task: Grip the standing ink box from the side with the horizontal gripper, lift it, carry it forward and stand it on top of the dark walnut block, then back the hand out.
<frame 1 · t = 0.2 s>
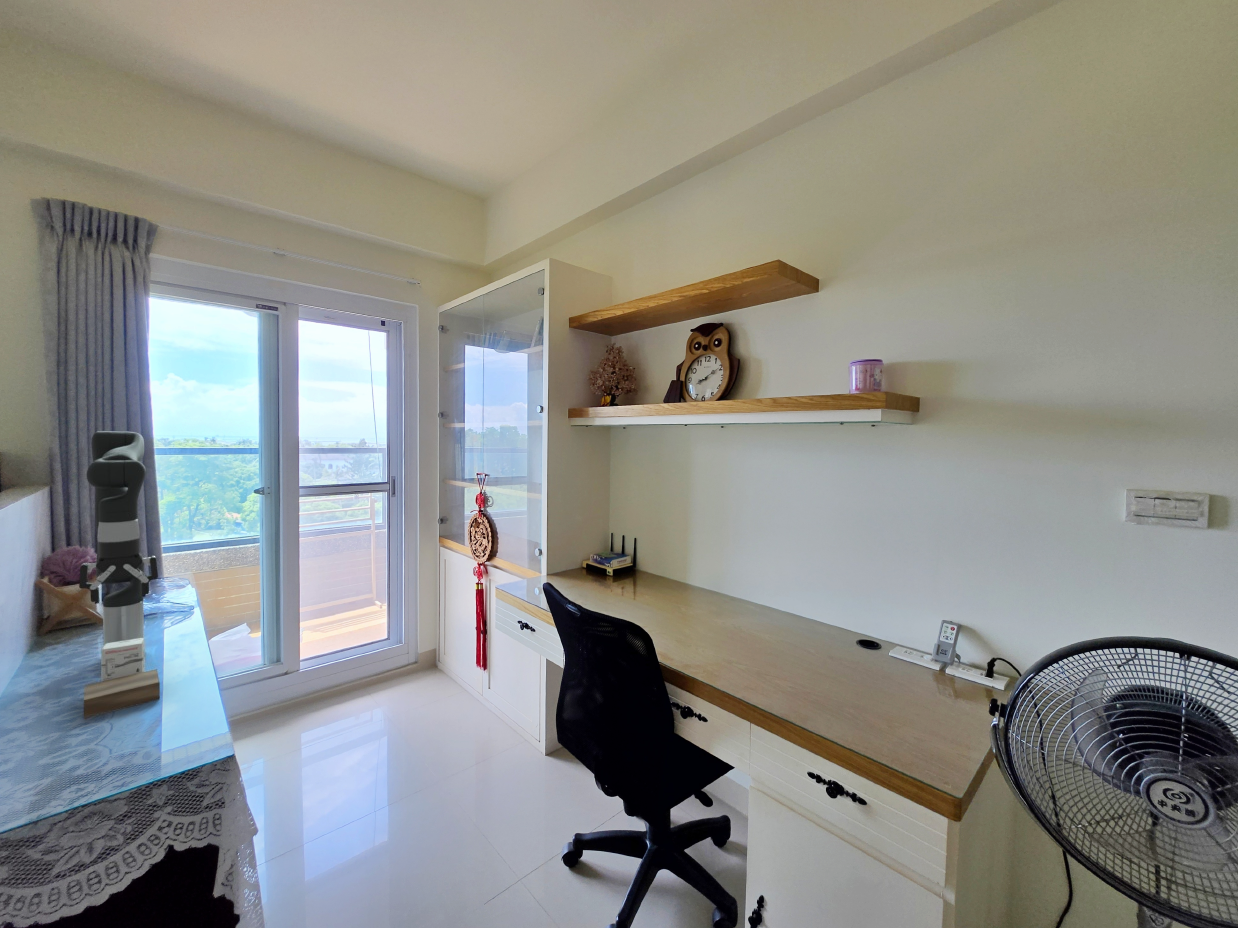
hand: (120, 599, 128), 29 cm above the table, tool pointing down, fingers open, 8 cm apart
walnut block: (122, 701, 133), on the table
ink box: (123, 684, 142), on the table
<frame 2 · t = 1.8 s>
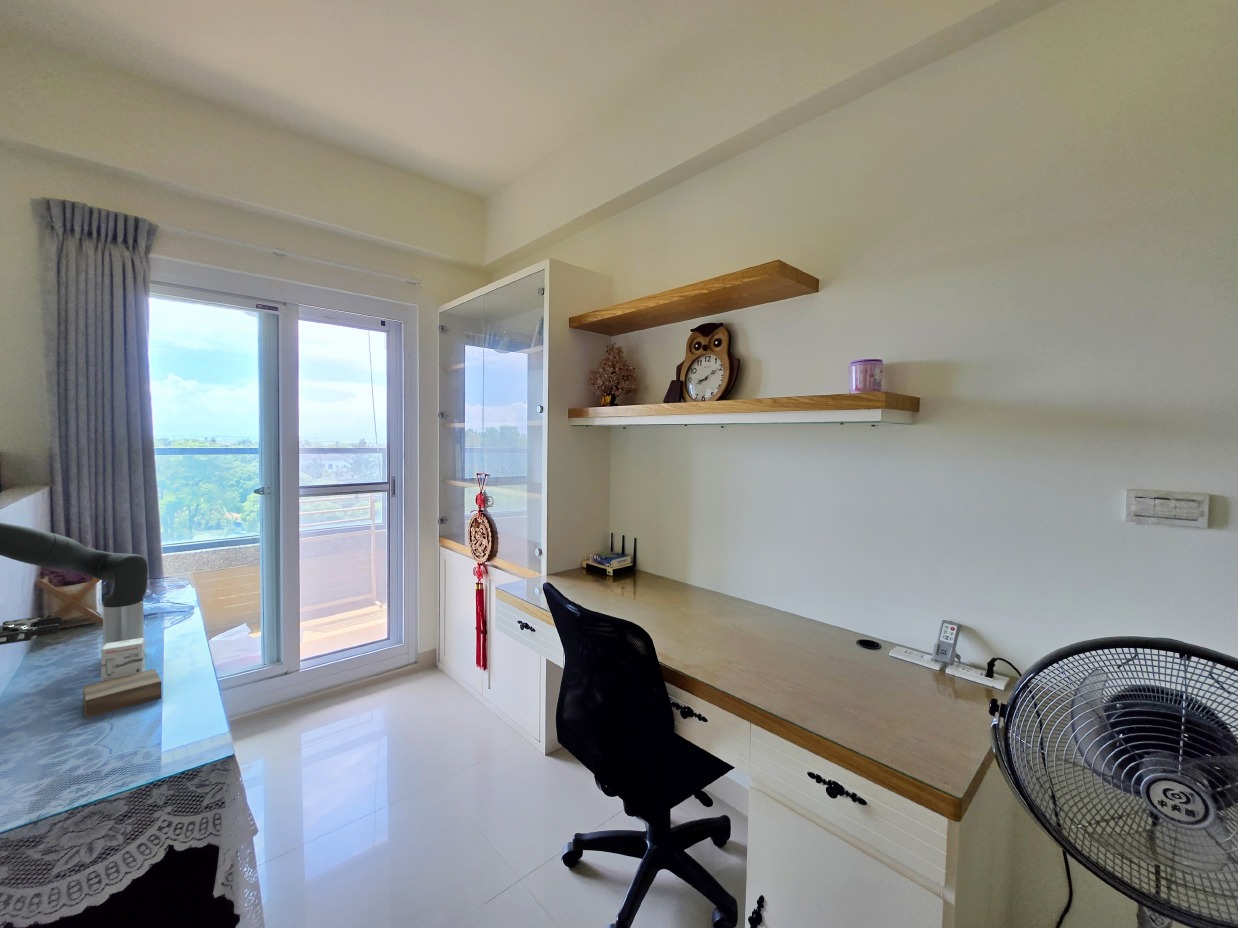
hand: (60, 623, 133), 20 cm above the table, tool horizontal, fingers open, 8 cm apart
nothing on the table moved.
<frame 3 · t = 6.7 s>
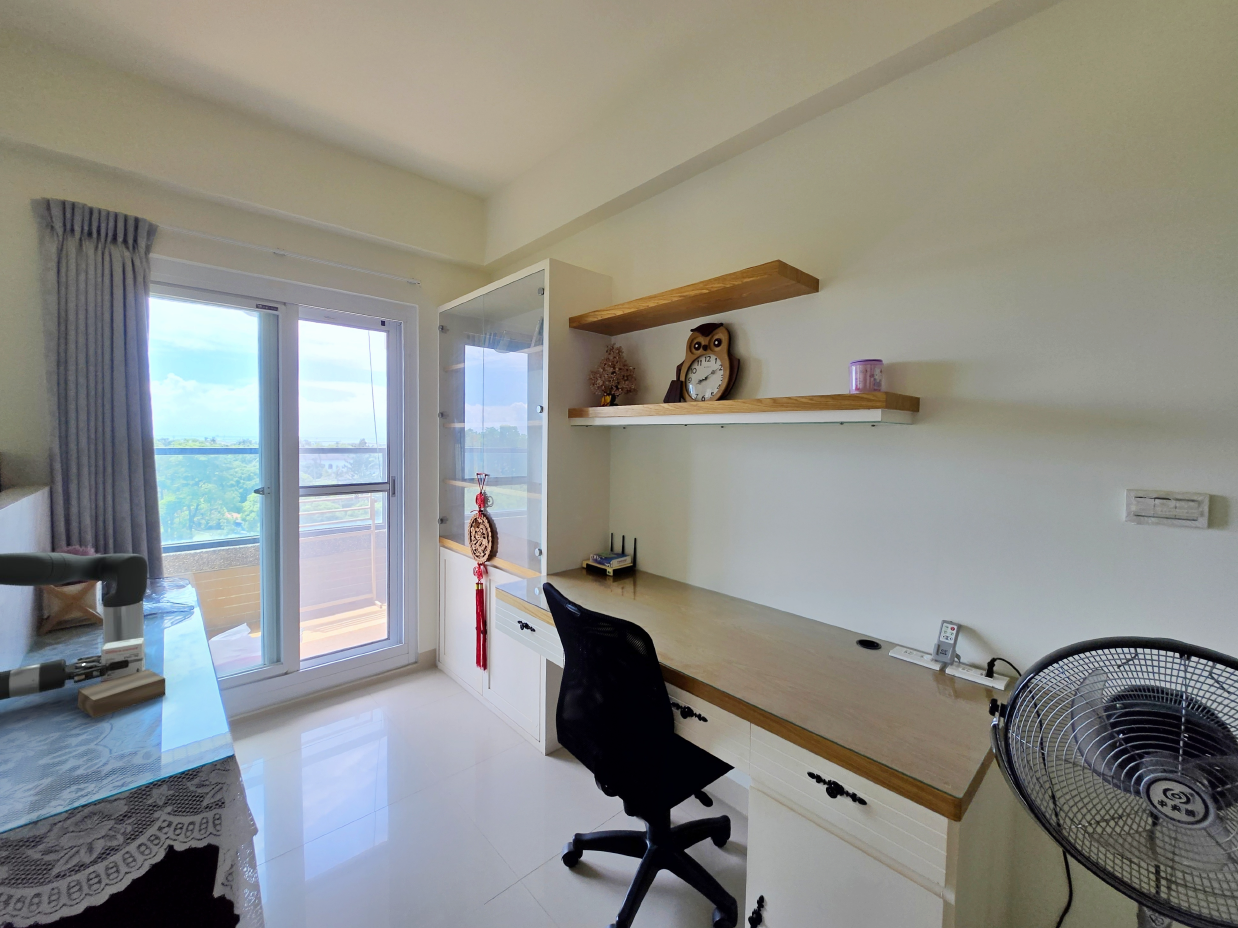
hand: (128, 659, 142), 7 cm above the table, tool horizontal, fingers closed on ink box, 5 cm apart
ink box: (123, 684, 142), on the table, touching gripper
when the fingers open (13 cm above the table, at t = 11.6 s): ink box drops 1 cm, resting on walnut block.
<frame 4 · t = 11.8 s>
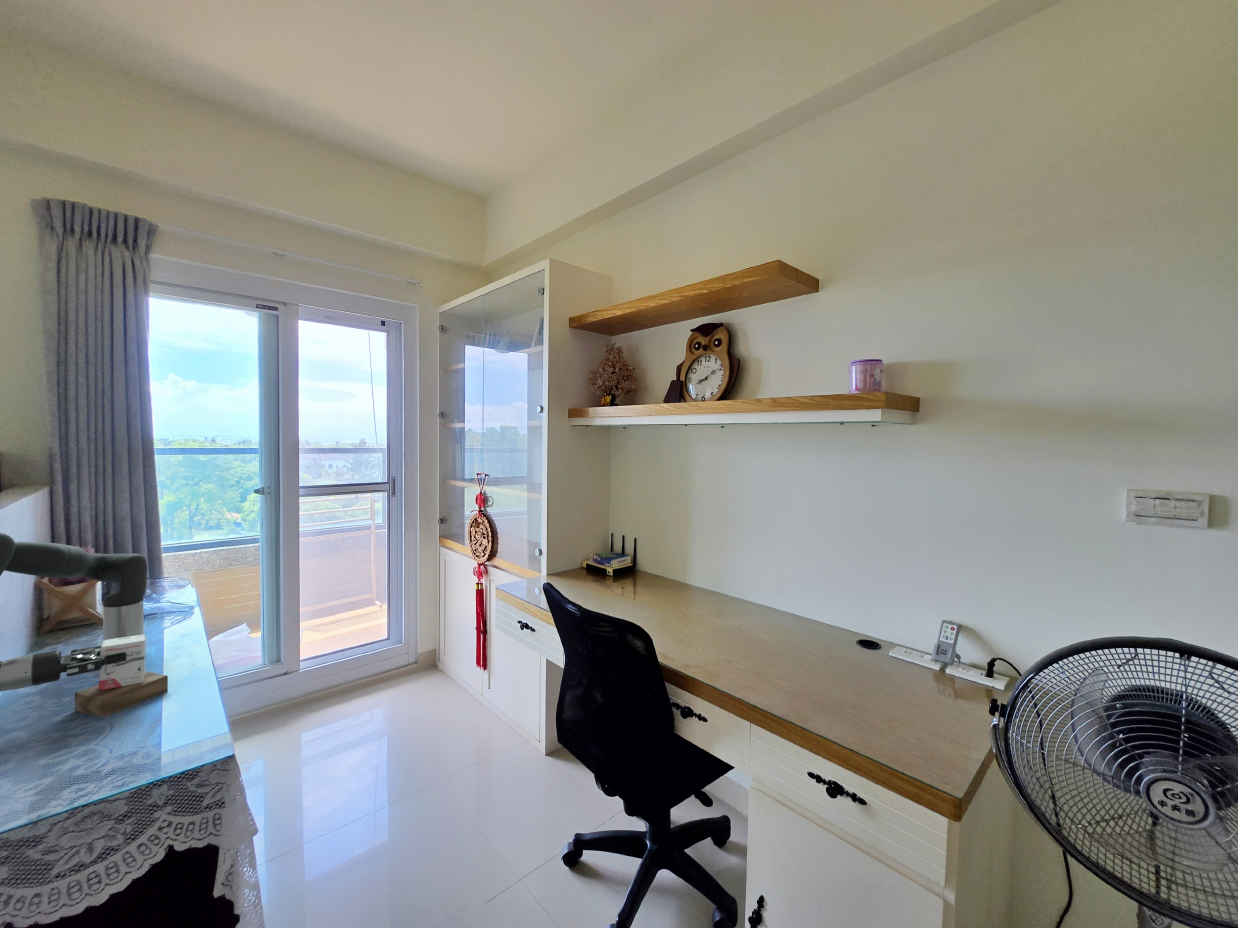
hand: (126, 651, 133), 13 cm above the table, tool horizontal, fingers open, 7 cm apart
walnut block: (123, 702, 133), on the table, touching ink box
ink box: (121, 683, 132), point 5 cm above the table, touching walnut block
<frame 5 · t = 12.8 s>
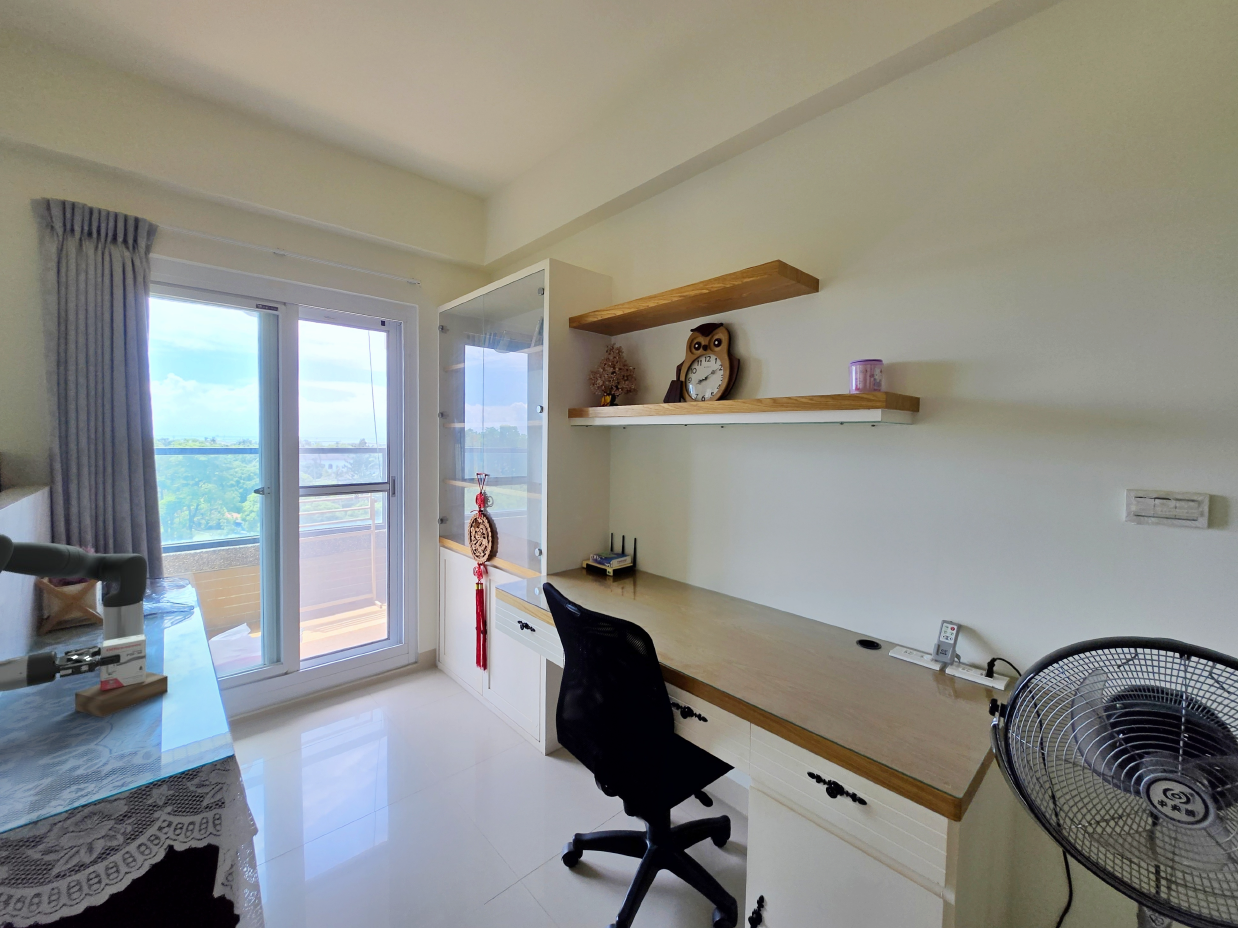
hand: (120, 652, 132), 13 cm above the table, tool horizontal, fingers open, 8 cm apart
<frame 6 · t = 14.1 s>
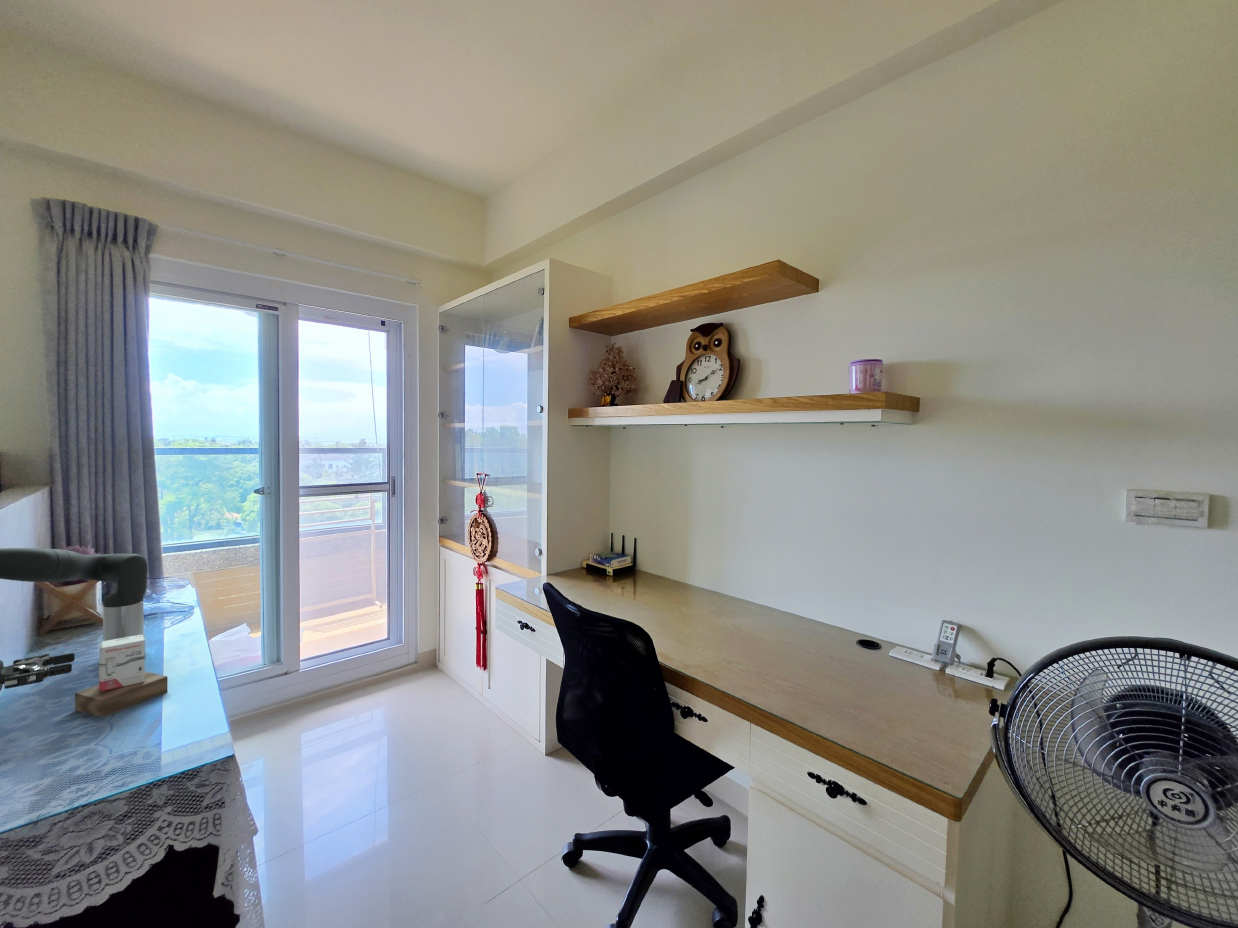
hand: (73, 661, 126), 13 cm above the table, tool horizontal, fingers open, 8 cm apart
walnut block: (123, 702, 133), on the table
ink box: (122, 684, 132), point 4 cm above the table
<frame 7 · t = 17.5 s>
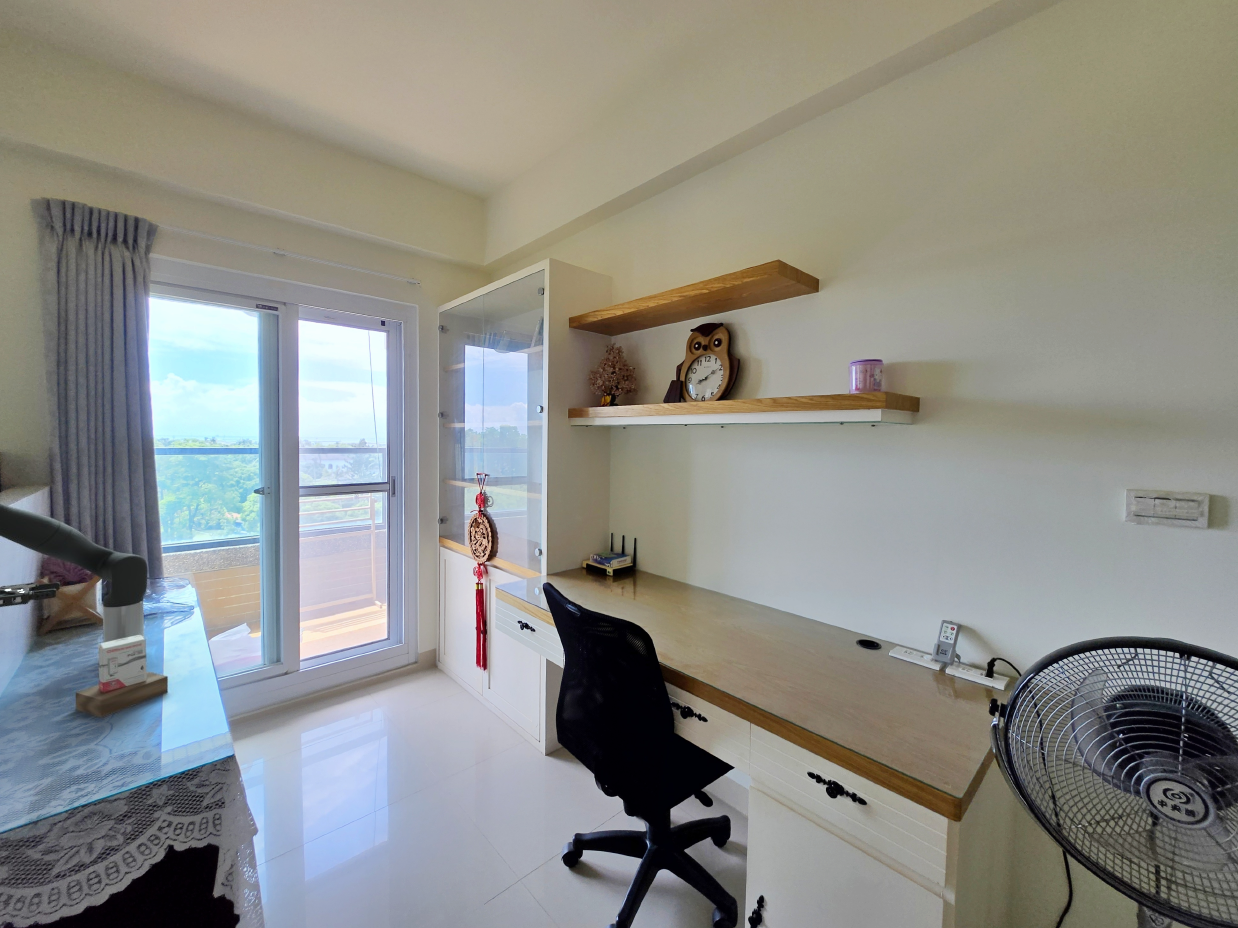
hand: (58, 589, 131), 30 cm above the table, tool horizontal, fingers open, 8 cm apart
walnut block: (123, 702, 133), on the table, touching ink box
ink box: (123, 684, 132), point 4 cm above the table, touching walnut block
at the end: ink box 0.5 cm off-centre on the walnut block, point 4.9 cm above the walnut block's base; ink box tilted 2°; the gripper is holding nothing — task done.
